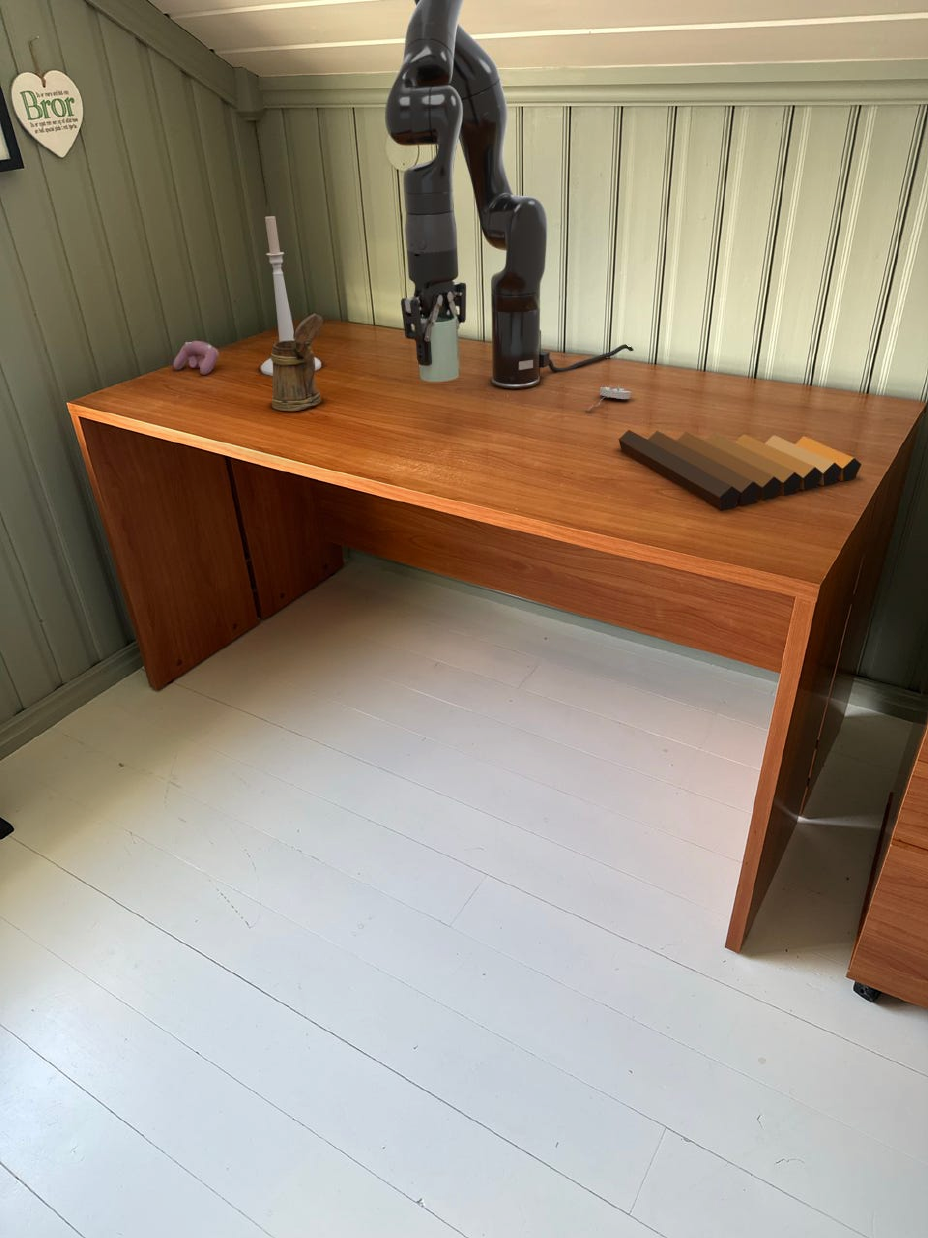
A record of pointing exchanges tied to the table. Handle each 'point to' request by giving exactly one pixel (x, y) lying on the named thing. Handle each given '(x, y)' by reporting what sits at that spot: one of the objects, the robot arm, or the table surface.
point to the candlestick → (279, 293)
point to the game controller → (614, 393)
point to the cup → (442, 352)
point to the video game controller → (197, 356)
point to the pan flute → (740, 465)
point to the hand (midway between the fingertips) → (438, 358)
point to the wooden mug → (296, 368)
